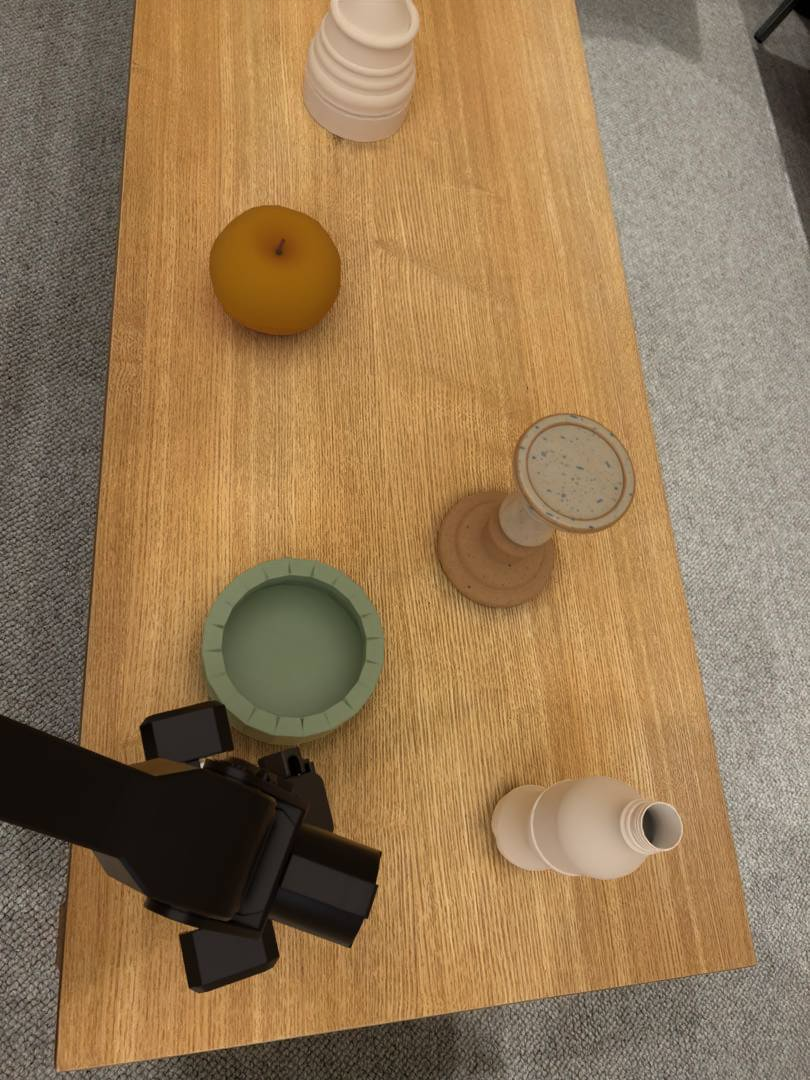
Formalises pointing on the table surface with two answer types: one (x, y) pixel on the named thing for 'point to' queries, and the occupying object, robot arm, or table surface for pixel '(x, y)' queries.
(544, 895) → the table surface
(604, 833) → the water bottle
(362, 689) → the bowl
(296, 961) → the table surface
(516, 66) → the table surface
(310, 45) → the honey pot
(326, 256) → the apple
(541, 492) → the candle holder
